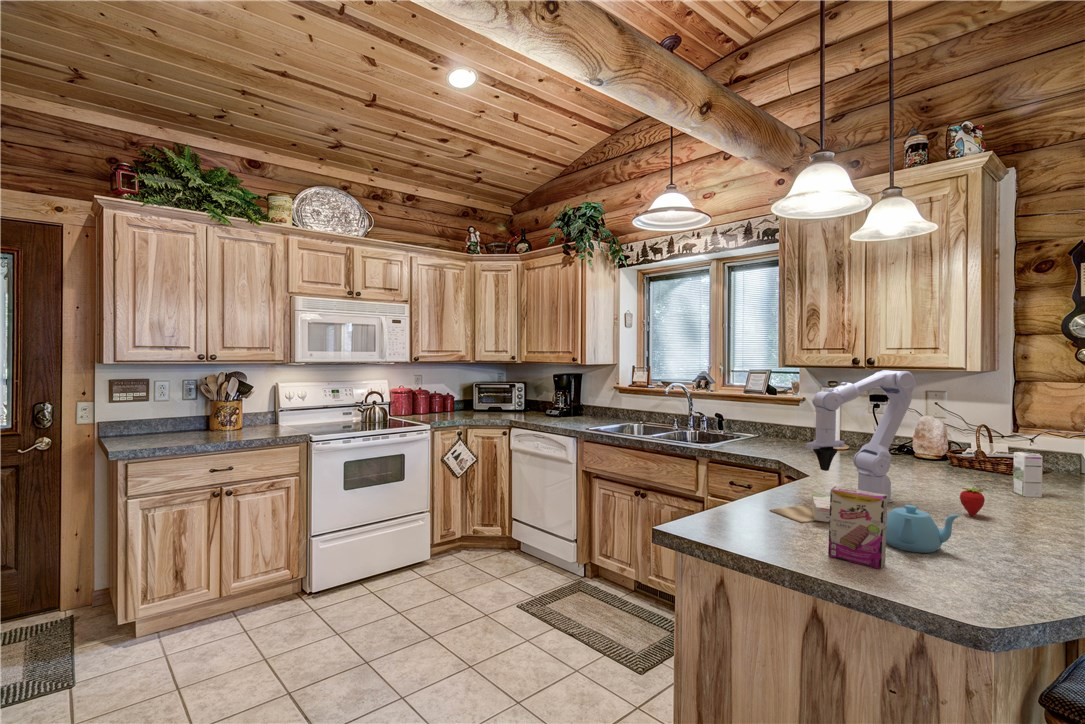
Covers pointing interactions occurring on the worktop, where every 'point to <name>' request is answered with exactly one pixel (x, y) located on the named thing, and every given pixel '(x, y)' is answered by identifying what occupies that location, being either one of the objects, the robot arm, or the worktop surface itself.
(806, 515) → the cork trivet
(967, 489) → the strawberry
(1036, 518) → the worktop surface
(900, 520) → the teapot
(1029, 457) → the syrup box
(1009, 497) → the worktop surface
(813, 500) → the ink box
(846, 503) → the candy bar box
